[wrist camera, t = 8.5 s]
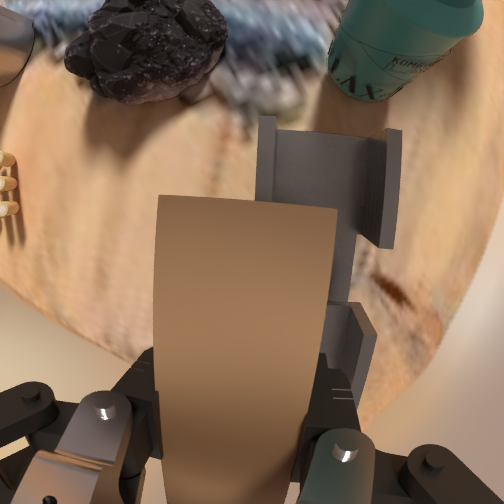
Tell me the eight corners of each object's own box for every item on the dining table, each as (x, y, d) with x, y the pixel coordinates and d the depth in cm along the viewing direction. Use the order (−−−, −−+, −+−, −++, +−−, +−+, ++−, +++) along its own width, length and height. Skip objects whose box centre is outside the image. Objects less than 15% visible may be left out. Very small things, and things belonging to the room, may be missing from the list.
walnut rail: (211, 204, 10) (159, 194, 6) (316, 213, 10) (337, 209, 6) (200, 470, 12) (173, 539, 7) (274, 481, 11) (267, 555, 7)
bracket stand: (265, 141, 25) (249, 113, 14) (359, 149, 24) (410, 130, 13) (255, 329, 29) (237, 409, 18) (339, 335, 28) (361, 415, 17)
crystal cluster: (235, -12, 22) (205, -75, 13) (231, 101, 24) (188, 49, 15) (120, 16, 25) (69, -25, 15) (103, 120, 27) (33, 97, 17)
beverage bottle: (309, 60, 23) (336, -118, 4) (368, 34, 22) (452, -114, 2) (350, 121, 24) (477, 9, 4) (408, 91, 22) (558, -4, 3)
